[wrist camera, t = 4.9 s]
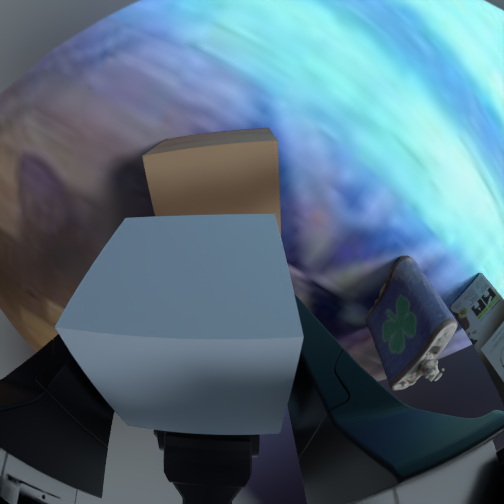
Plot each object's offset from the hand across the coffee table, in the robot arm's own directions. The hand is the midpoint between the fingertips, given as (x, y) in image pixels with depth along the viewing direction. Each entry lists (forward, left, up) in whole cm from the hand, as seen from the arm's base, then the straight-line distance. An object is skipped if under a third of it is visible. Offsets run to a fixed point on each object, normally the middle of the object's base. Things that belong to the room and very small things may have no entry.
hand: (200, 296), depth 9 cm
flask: (-11, -16, -12) cm, 23 cm away
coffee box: (-14, -32, -12) cm, 37 cm away
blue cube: (0, 0, -1) cm, 1 cm away
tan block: (0, 0, -12) cm, 12 cm away
